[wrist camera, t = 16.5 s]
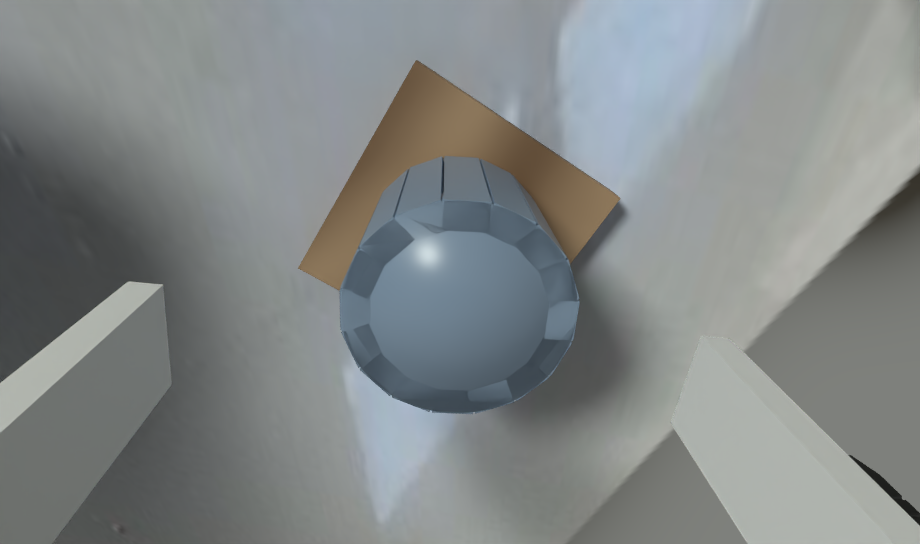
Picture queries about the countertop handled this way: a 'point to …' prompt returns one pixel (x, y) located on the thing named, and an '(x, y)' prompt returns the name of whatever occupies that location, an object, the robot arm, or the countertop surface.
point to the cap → (458, 290)
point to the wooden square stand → (462, 135)
